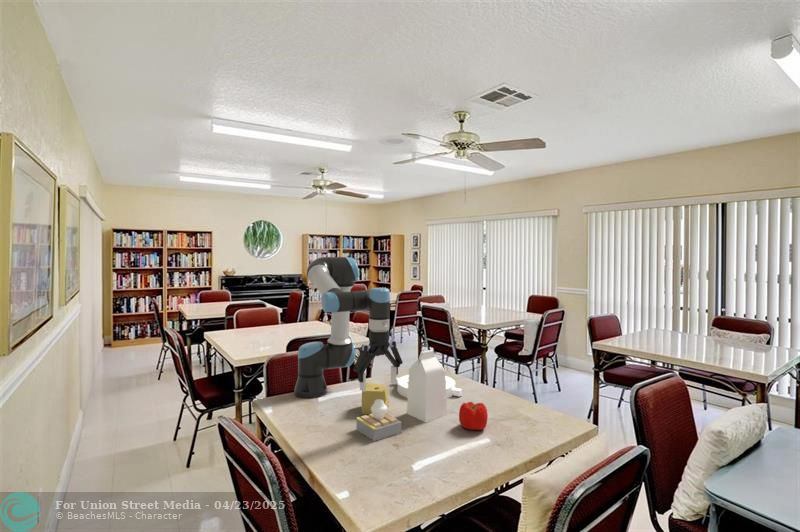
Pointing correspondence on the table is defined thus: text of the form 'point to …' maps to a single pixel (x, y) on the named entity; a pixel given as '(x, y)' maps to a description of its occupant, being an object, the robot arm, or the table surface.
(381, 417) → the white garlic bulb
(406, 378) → the white circle with bar
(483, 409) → the red bell pepper
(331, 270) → the robot arm
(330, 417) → the table surface
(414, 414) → the milk
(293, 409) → the table surface
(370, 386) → the cheese
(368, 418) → the dock
